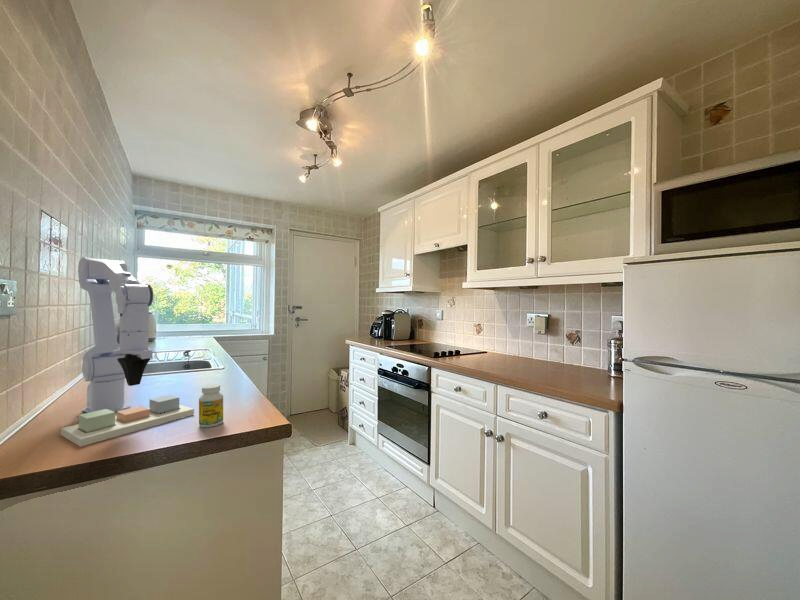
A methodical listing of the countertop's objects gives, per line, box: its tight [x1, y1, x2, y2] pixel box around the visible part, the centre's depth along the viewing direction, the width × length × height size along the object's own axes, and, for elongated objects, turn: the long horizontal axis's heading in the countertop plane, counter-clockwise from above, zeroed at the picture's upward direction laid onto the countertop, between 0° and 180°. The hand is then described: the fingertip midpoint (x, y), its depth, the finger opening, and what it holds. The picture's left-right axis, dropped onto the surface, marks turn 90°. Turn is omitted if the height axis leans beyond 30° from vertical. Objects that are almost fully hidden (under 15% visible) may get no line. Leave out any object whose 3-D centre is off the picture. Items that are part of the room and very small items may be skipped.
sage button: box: [78, 409, 116, 433], centre depth 76 cm, size 5×5×3 cm
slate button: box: [148, 394, 180, 415], centre depth 88 cm, size 5×5×3 cm
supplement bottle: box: [198, 384, 224, 428], centre depth 82 cm, size 5×5×10 cm
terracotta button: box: [116, 405, 150, 423], centre depth 82 cm, size 5×5×3 cm
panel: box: [60, 403, 195, 448], centre depth 82 cm, size 12×23×2 cm, turn 150°
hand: (133, 384), depth 82 cm, fingers closed
